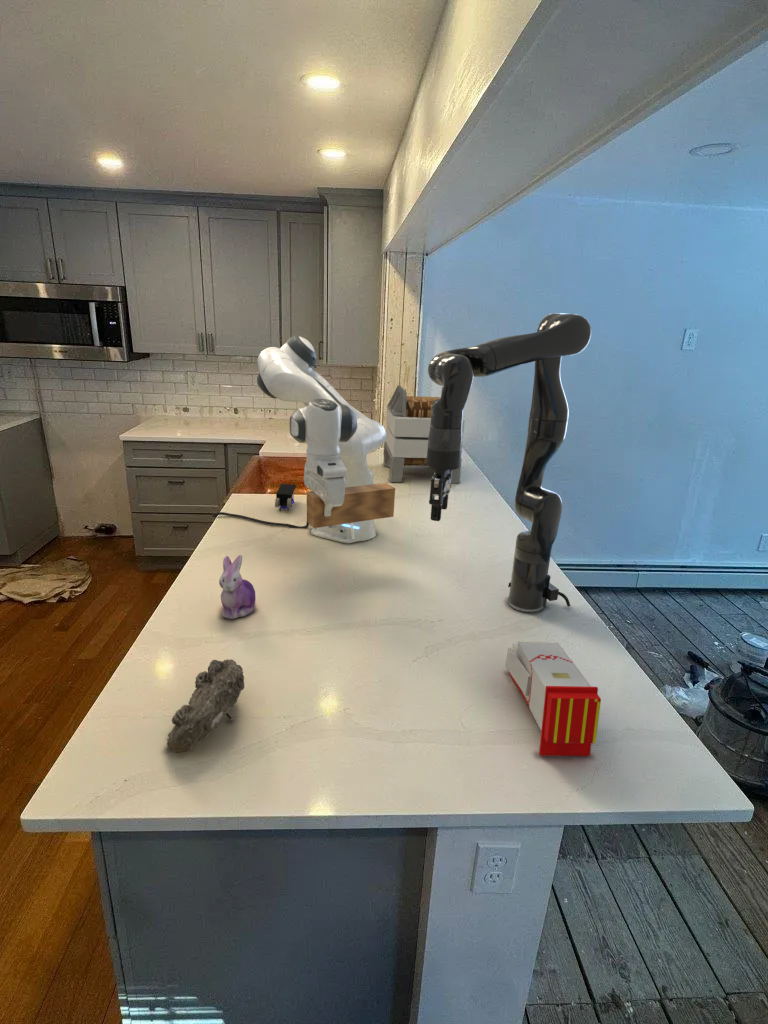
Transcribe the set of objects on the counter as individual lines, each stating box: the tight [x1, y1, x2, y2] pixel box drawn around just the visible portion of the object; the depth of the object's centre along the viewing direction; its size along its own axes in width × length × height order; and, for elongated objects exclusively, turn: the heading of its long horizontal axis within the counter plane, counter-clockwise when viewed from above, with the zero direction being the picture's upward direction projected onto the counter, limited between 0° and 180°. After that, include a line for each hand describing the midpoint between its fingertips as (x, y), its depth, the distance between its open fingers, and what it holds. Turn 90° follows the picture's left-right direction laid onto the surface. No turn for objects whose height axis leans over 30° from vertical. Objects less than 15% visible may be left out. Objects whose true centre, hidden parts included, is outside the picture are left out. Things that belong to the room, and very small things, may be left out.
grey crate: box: [383, 384, 465, 484], centre depth 268 cm, size 34×33×41 cm
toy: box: [505, 641, 602, 757], centre depth 113 cm, size 12×13×30 cm
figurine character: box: [274, 483, 297, 512], centre depth 220 cm, size 7×8×15 cm
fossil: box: [166, 658, 245, 754], centre depth 106 cm, size 22×10×15 cm
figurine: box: [218, 554, 256, 619], centre depth 143 cm, size 9×10×15 cm
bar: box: [306, 482, 396, 528], centre depth 158 cm, size 24×5×9 cm, turn 118°
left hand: (322, 511), depth 154 cm, fingers closed on bar, 5 cm apart
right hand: (439, 514), depth 132 cm, fingers open, 8 cm apart
